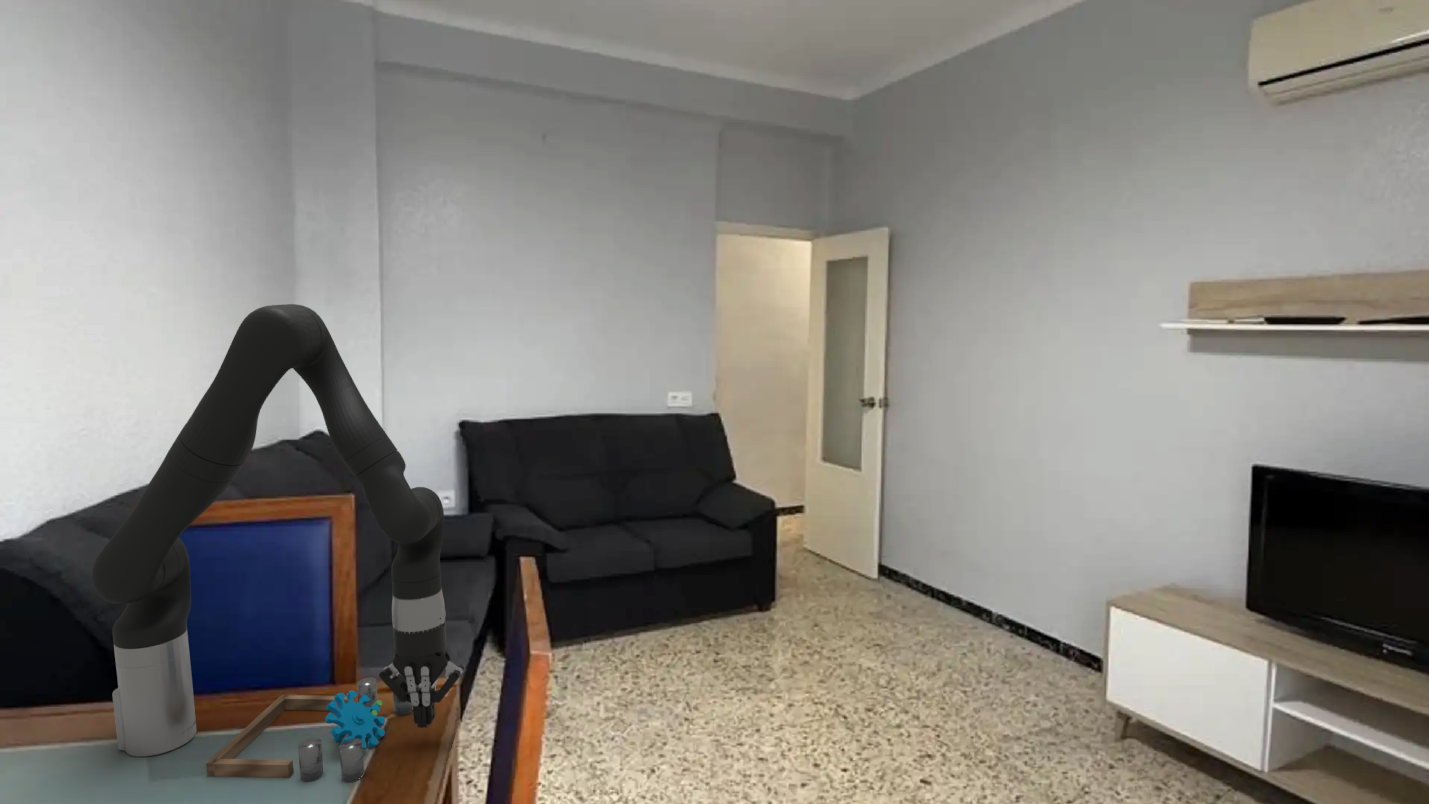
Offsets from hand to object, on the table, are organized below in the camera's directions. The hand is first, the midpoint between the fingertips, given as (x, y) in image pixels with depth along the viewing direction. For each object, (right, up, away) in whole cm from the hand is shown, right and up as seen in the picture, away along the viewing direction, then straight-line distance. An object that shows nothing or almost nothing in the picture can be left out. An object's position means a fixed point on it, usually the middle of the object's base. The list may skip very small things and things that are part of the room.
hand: (425, 724), depth 124 cm
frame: (-22, -3, +1) cm, 22 cm away
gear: (-11, -3, +1) cm, 11 cm away
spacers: (-10, -3, +1) cm, 11 cm away
